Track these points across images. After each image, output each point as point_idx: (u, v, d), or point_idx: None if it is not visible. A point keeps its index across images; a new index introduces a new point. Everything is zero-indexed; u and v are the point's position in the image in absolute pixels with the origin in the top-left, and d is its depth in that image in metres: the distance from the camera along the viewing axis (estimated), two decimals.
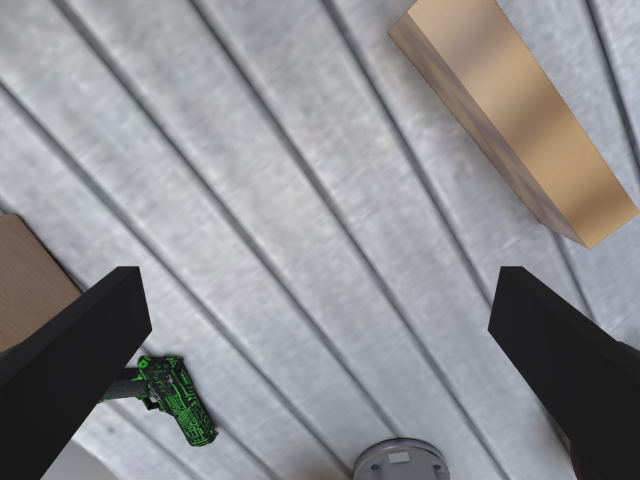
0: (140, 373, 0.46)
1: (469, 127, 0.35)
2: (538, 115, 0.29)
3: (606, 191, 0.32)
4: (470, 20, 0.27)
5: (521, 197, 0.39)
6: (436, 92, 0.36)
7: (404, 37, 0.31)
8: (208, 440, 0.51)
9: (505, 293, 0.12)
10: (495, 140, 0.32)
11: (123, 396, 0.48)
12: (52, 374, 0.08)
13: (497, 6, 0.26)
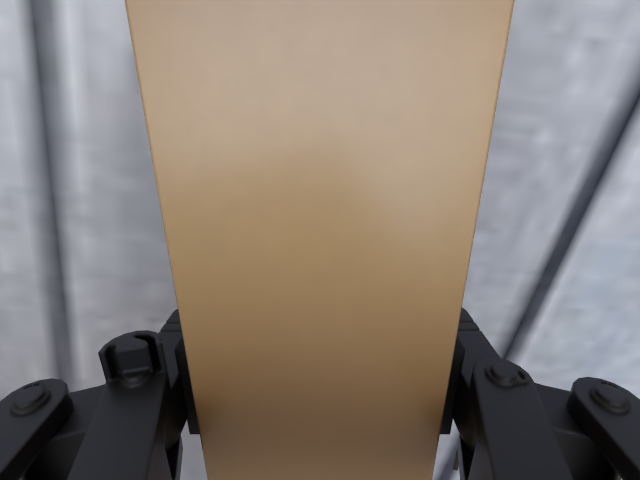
0: None
1: None
2: None
3: (383, 409, 0.07)
4: None
5: None
6: None
7: None
8: None
9: None
10: None
11: None
12: None
13: None
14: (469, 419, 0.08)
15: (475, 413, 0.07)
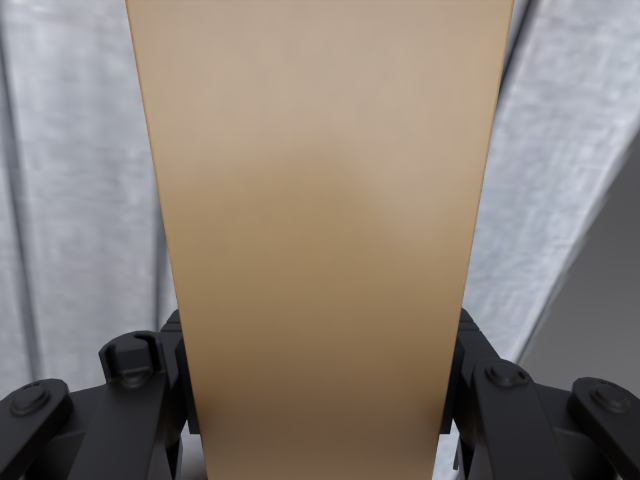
0: None
1: None
2: None
3: (383, 408, 0.07)
4: None
5: None
6: None
7: None
8: None
9: None
10: None
11: None
12: None
13: None
14: (469, 419, 0.08)
15: (475, 413, 0.07)
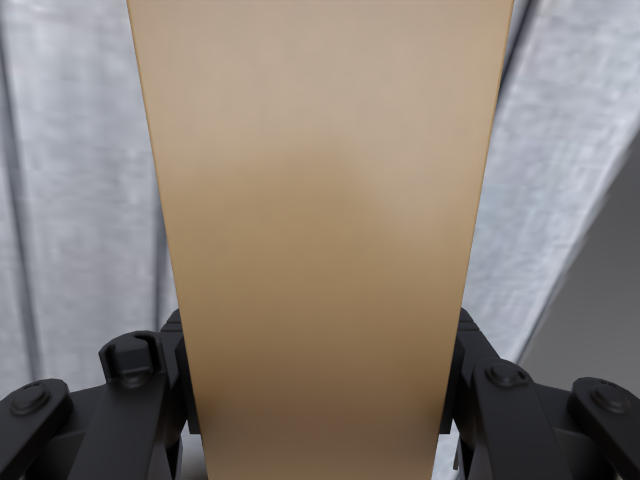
0: None
1: None
2: None
3: (383, 407, 0.07)
4: None
5: None
6: None
7: None
8: None
9: None
10: None
11: None
12: None
13: None
14: (469, 419, 0.08)
15: (475, 413, 0.07)
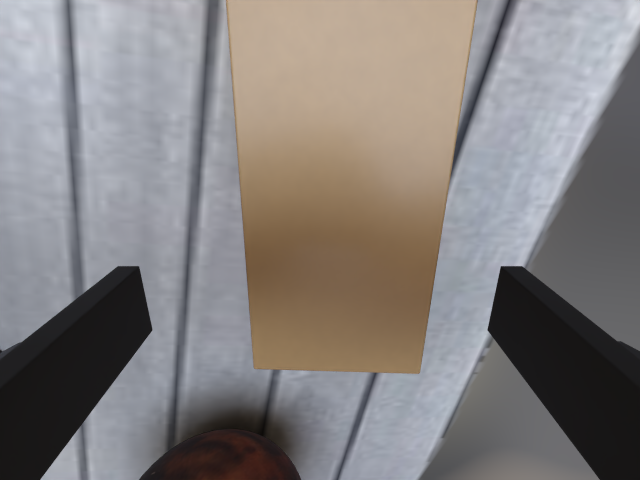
0: None
1: None
2: None
3: (390, 255, 0.09)
4: None
5: None
6: None
7: None
8: None
9: (505, 293, 0.12)
10: None
11: None
12: (52, 374, 0.08)
13: None
14: None
15: None
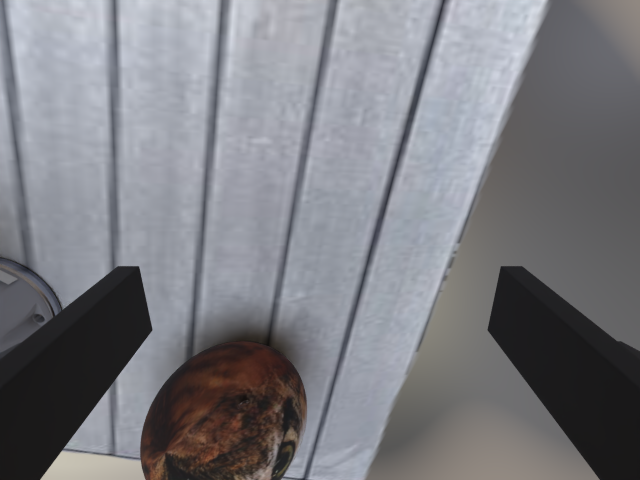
0: None
1: None
2: None
3: None
4: None
5: None
6: None
7: None
8: None
9: (505, 293, 0.12)
10: None
11: None
12: (52, 374, 0.08)
13: None
14: None
15: None
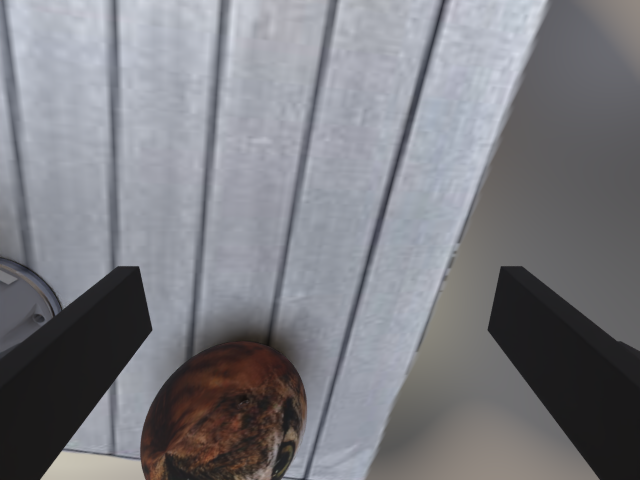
0: None
1: None
2: None
3: None
4: None
5: None
6: None
7: None
8: None
9: (505, 293, 0.12)
10: None
11: None
12: (52, 374, 0.08)
13: None
14: None
15: None
